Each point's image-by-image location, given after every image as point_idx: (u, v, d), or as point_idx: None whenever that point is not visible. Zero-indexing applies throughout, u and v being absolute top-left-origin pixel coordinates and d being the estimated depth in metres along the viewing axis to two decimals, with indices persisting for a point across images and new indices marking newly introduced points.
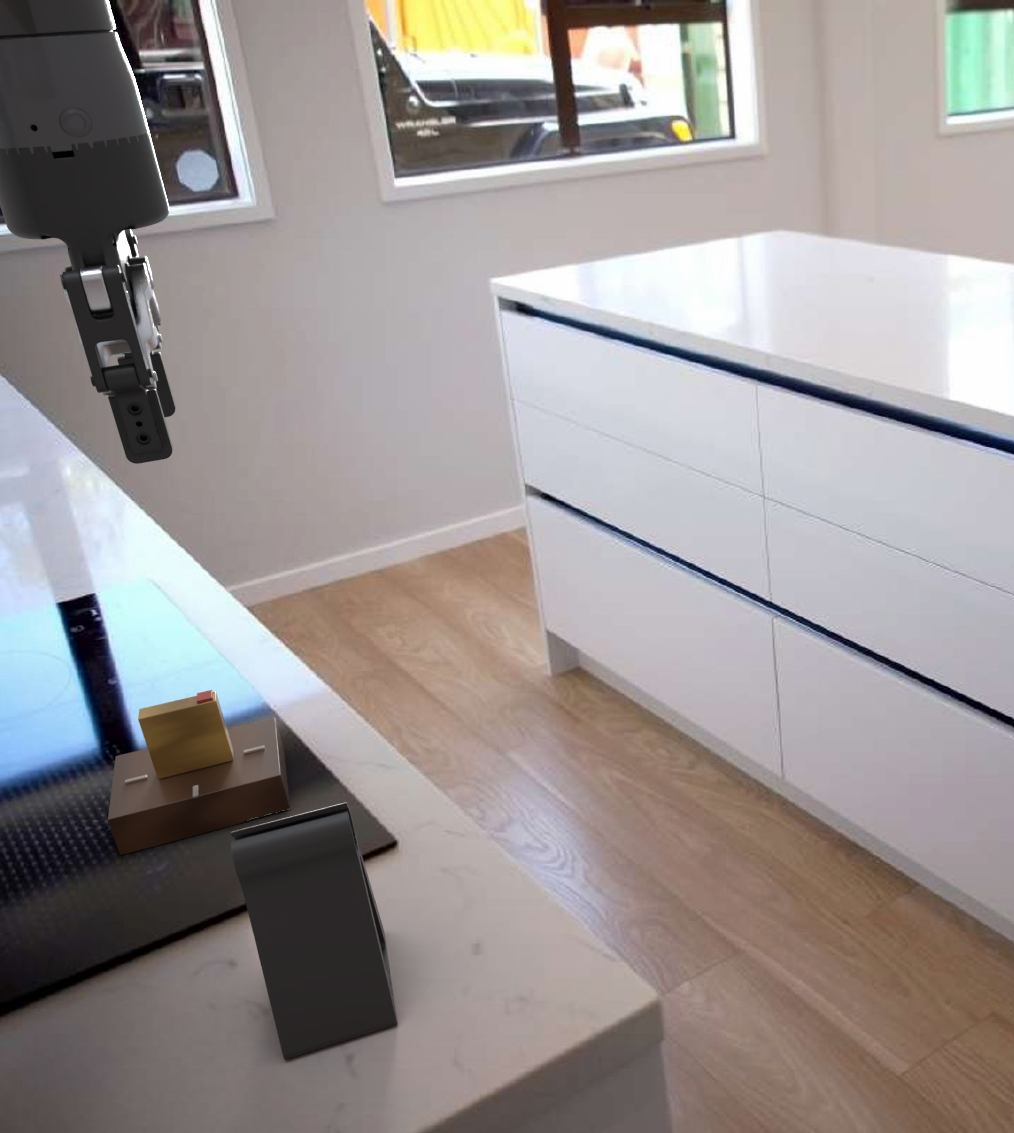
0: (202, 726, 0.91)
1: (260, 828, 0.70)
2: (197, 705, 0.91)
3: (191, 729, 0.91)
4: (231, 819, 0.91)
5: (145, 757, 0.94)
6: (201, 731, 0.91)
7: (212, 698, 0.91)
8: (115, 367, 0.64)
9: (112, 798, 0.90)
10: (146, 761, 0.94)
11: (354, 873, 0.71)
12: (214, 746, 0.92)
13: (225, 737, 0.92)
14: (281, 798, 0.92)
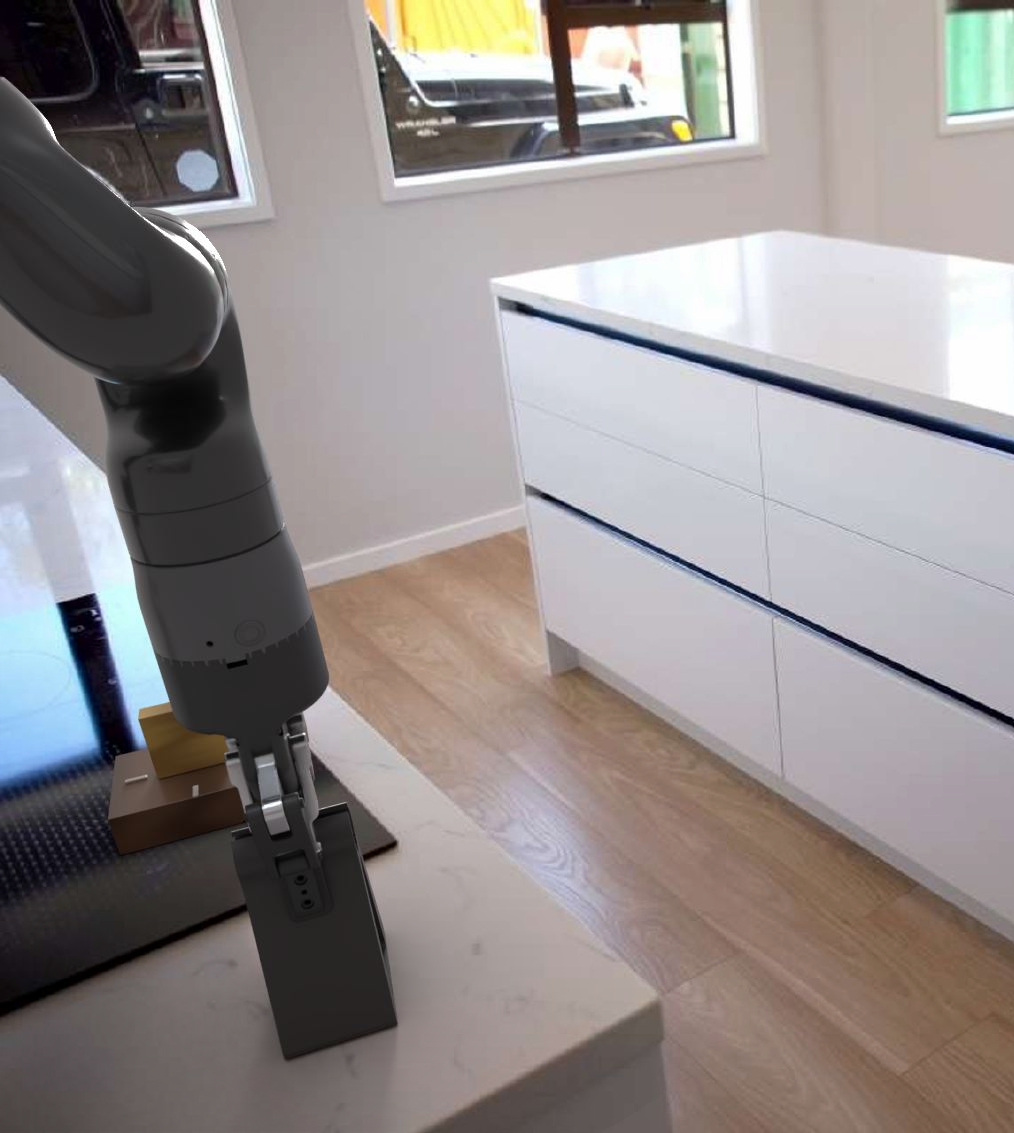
0: None
1: None
2: None
3: None
4: (231, 819, 0.91)
5: (145, 757, 0.94)
6: None
7: None
8: (288, 855, 0.66)
9: (112, 798, 0.90)
10: (146, 761, 0.94)
11: (354, 873, 0.71)
12: (214, 746, 0.92)
13: None
14: None
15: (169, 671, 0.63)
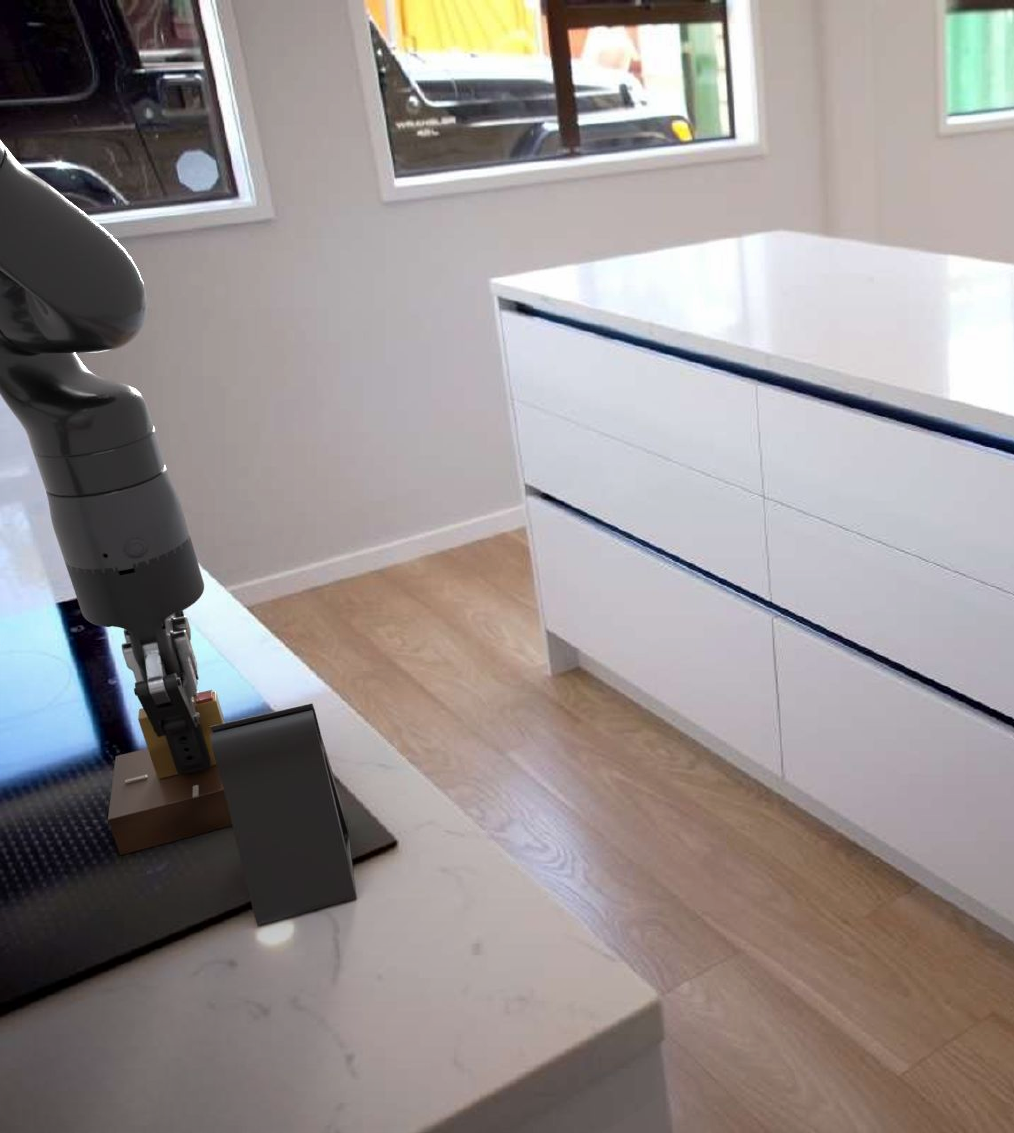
0: (202, 726, 0.91)
1: (236, 723, 0.80)
2: (197, 705, 0.91)
3: None
4: None
5: (145, 757, 0.94)
6: None
7: (212, 698, 0.91)
8: (171, 717, 0.88)
9: (112, 798, 0.90)
10: (146, 761, 0.94)
11: (318, 764, 0.81)
12: None
13: None
14: None
15: (76, 577, 0.83)
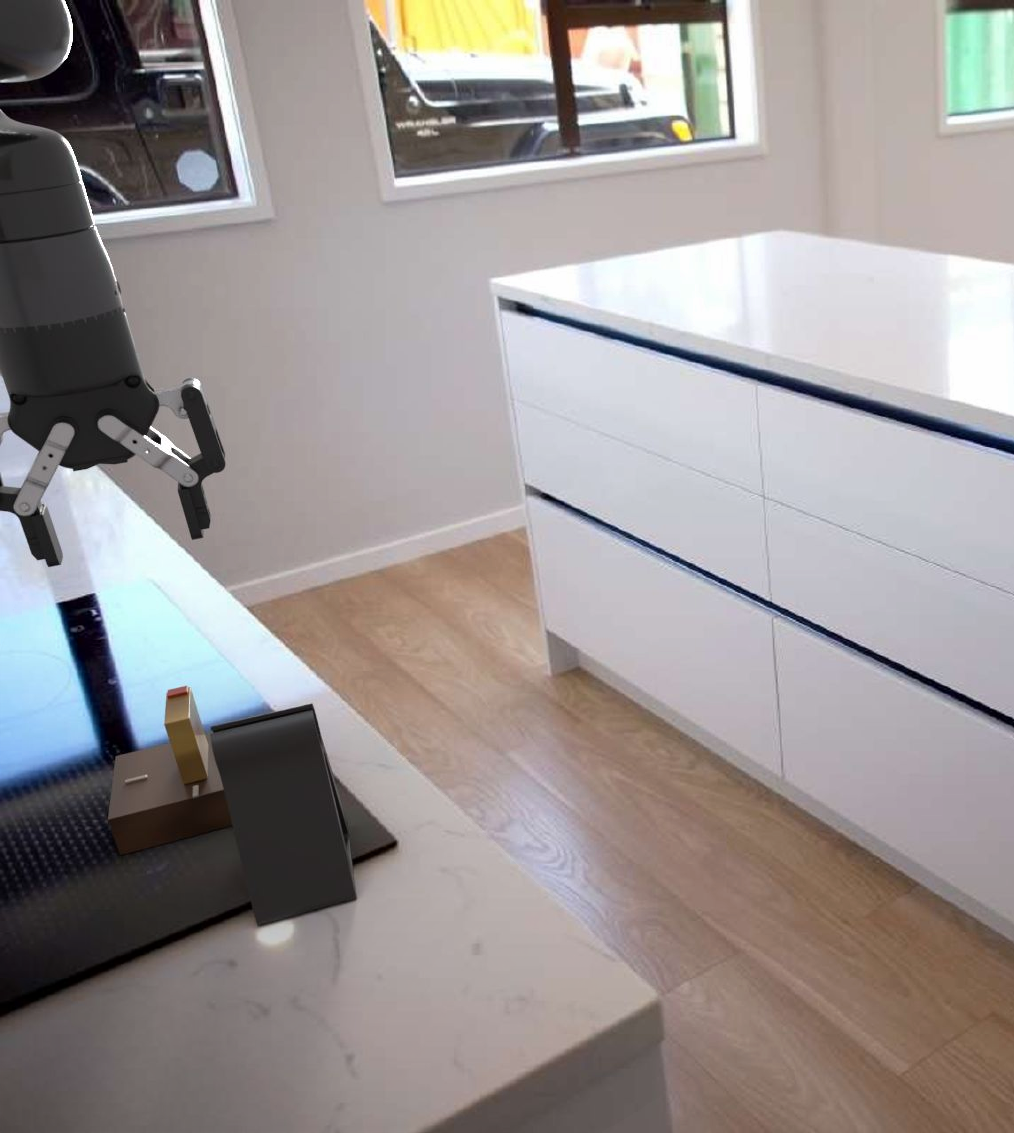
0: (196, 715, 0.93)
1: (236, 723, 0.80)
2: (189, 694, 0.92)
3: (196, 719, 0.92)
4: None
5: (145, 757, 0.94)
6: (198, 721, 0.93)
7: (185, 687, 0.93)
8: None
9: (112, 798, 0.90)
10: (146, 761, 0.94)
11: (318, 764, 0.81)
12: (203, 733, 0.94)
13: None
14: None
15: (92, 329, 0.78)
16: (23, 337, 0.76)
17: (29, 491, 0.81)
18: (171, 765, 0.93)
